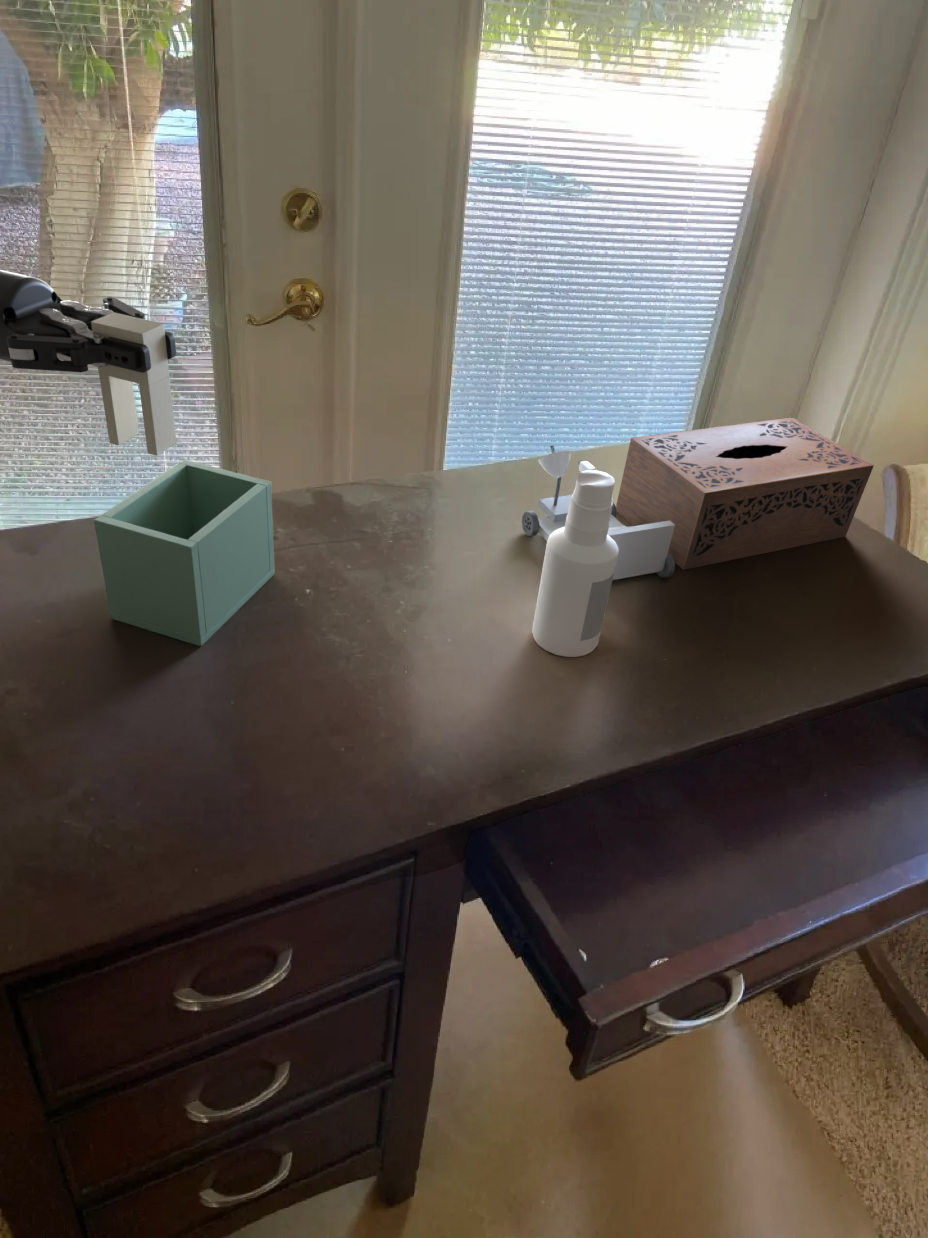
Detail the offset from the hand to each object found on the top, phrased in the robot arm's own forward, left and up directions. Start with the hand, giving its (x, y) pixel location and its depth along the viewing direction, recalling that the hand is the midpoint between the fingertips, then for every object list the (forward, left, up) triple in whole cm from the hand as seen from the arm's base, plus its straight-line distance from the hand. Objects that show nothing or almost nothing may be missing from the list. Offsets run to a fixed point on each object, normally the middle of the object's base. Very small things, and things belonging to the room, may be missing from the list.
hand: (160, 352), depth 75 cm
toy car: (+44, -12, -25) cm, 52 cm away
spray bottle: (+30, -24, -25) cm, 46 cm away
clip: (-2, +2, -9) cm, 9 cm away
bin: (+1, 0, -25) cm, 25 cm away
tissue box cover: (+65, -16, -25) cm, 72 cm away
